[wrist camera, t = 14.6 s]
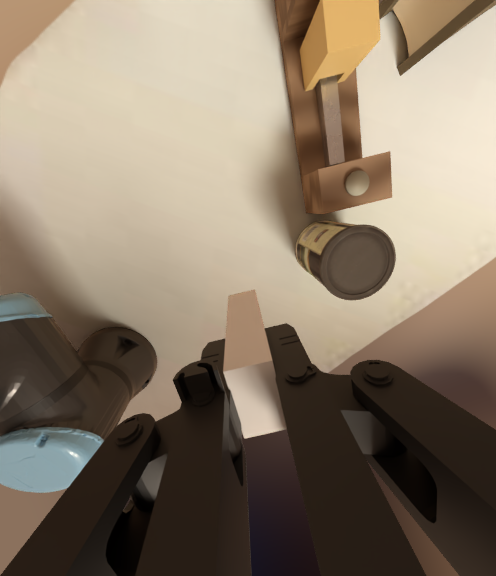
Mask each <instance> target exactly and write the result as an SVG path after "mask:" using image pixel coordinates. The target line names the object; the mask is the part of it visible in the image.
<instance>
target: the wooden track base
mask: <svg viewBox="0 0 496 576" xmlns="http://www.w3.org/2000/svg"><path fill="white" fill-rule="evenodd" d="M274 1H275V7H276V14H277V21H278V27H279V34H280V41H281V47H282V54H283V61H284V67H285V74H286V81H287V88H288V94H289V101H290V108H291V114H292V121H293V128H294V134H295V141H296V148H297V154H298V161H299V168H300V174H301V181H302V188H303V194H304V201H305V208H306V213H315V214H326V213H330V212H334V211H338V210H342V209H346V208H351V207H355V206H359V205H363V204H367V203H371V202H375V201H379V200H383V199H387V198H391V197H392V184H391V158H390V152H386V153H382V154H378V155H374V156H370V157H366V158H362V147H361V134H360V120H359V106H358V92H357V79H356V68H355V69H354V71H353V72H352V73H351V74H350V75H349V76H348V78H347V79H346V80H345V81H343V82H339V83H337V84H338V94H339V105H340V115H341V126H342V137H343V147H344V158H345V162H343V163H340V164H337V165H333V166H329V167H325V160H324V152H323V144H322V135H321V127H320V118H319V110H318V101H317V93H316V85H315V87H314V88H313V89H312V90H309V91H305V88H304V80H303V73H302V65H301V57H300V48H301V46H302V43H303V41H304V38H305V36H306V33H307V31H308V28H309V26H310V24H311V21H312V19H313V16H314V14H315V11H316V9H317V6H318V4H319V2H320V0H274Z"/></svg>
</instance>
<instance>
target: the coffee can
mask: <svg viewBox="0 0 496 576" xmlns="http://www.w3.org/2000/svg"><path fill="white" fill-rule="evenodd" d="M295 252H296V258H297V261H298V263H299V264H300V266H301V267H302V268H303V269H304V270H306V271H307V272H309V273H310V274H311V275H312V276H313V277H315V278H316V279H317V280H318V281H319V282H320V283H321V284H323V285H324V286H325V287H326V288H327V290H328V291H329V292H330V293H332V294H333V295H335V296H336V297H339V298H341V299H345V300H360V299H363V298H366V297H369V296H371V295H373V294H374V293H376V292H377V291H379V290H380V289H381V288H382V287H383V286H384V285H385V284H386V282H387V281H388V280H389V278H390V276H391V274H392V272H393V269H394V266H395V260H396V254H395V248H394V245H393V242H392V241H391V239H390V237H389V236H388V235H387V234H386V233H385V232H384V231H382V230H381V229H379V228H377V227H375V226H371V225H354V224H346V223H338V222H332V221H327V220H325V221H318V222H315V223H312V224H310V225H309V226H308V227H306V228H305V229H304V230H303V231H302V233H301V234H300V236H299V238H298V240H297V243H296V249H295Z"/></svg>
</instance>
